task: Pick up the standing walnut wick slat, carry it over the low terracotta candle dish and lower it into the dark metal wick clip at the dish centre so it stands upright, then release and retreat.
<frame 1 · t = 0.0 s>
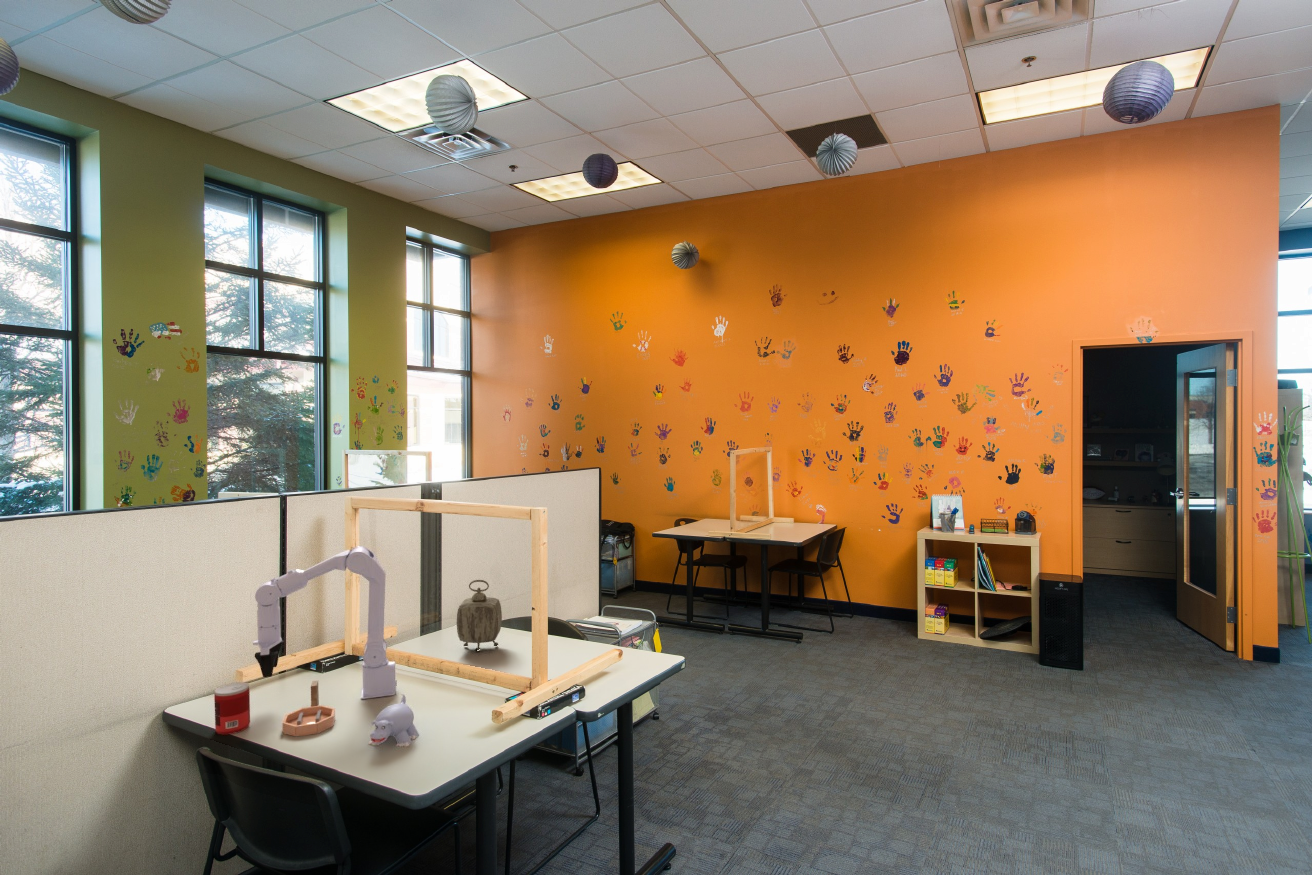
hand: (270, 671, 198), 10 cm above the table, fingers open, 7 cm apart
dish: (309, 724, 187), on the table
wick: (315, 707, 198), on the table
canned food: (233, 729, 185), on the table
tabletop clock: (479, 650, 245), on the table
hippopotamus toy: (391, 743, 177), on the table
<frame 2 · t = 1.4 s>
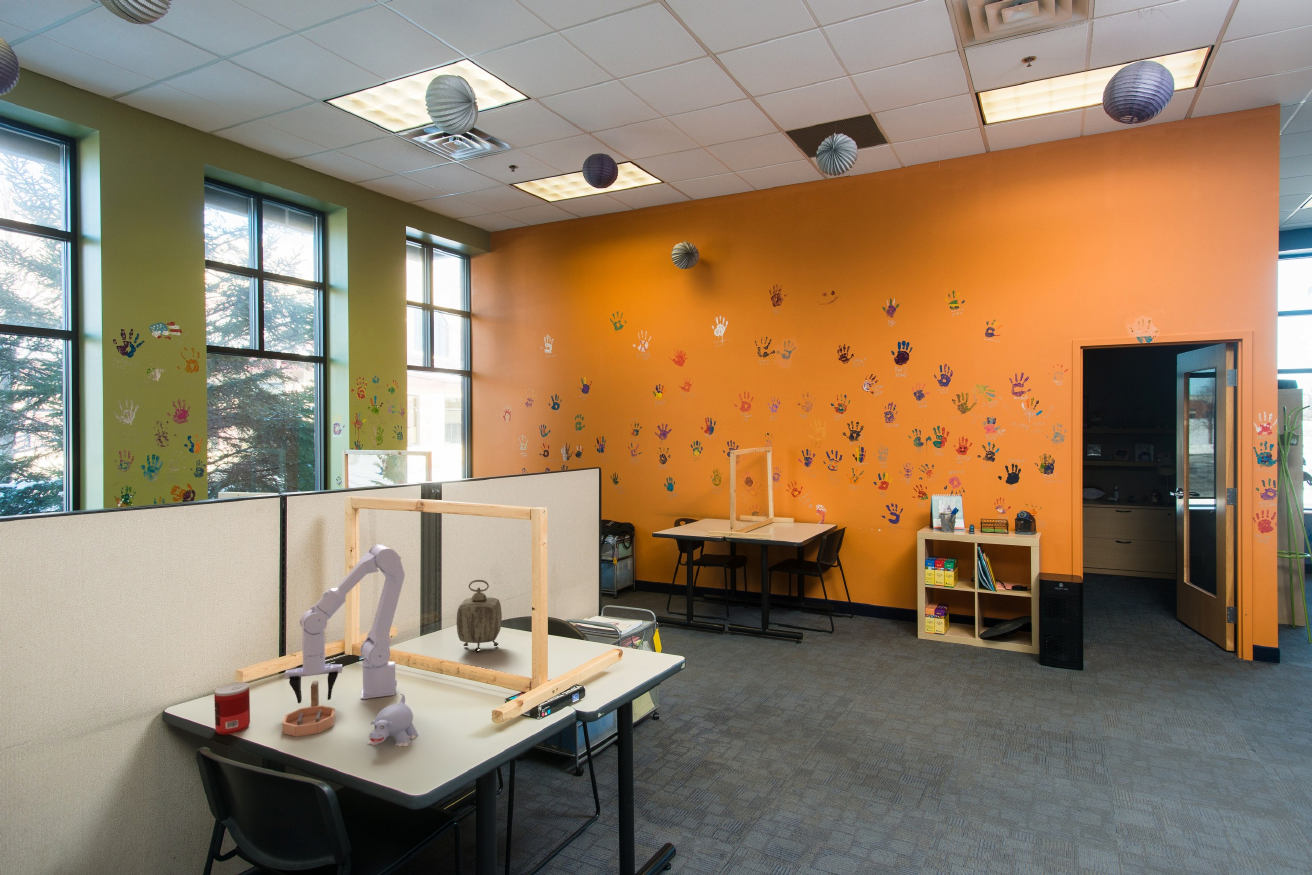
hand: (314, 699, 198), 2 cm above the table, fingers open, 7 cm apart
nothing on the table moved.
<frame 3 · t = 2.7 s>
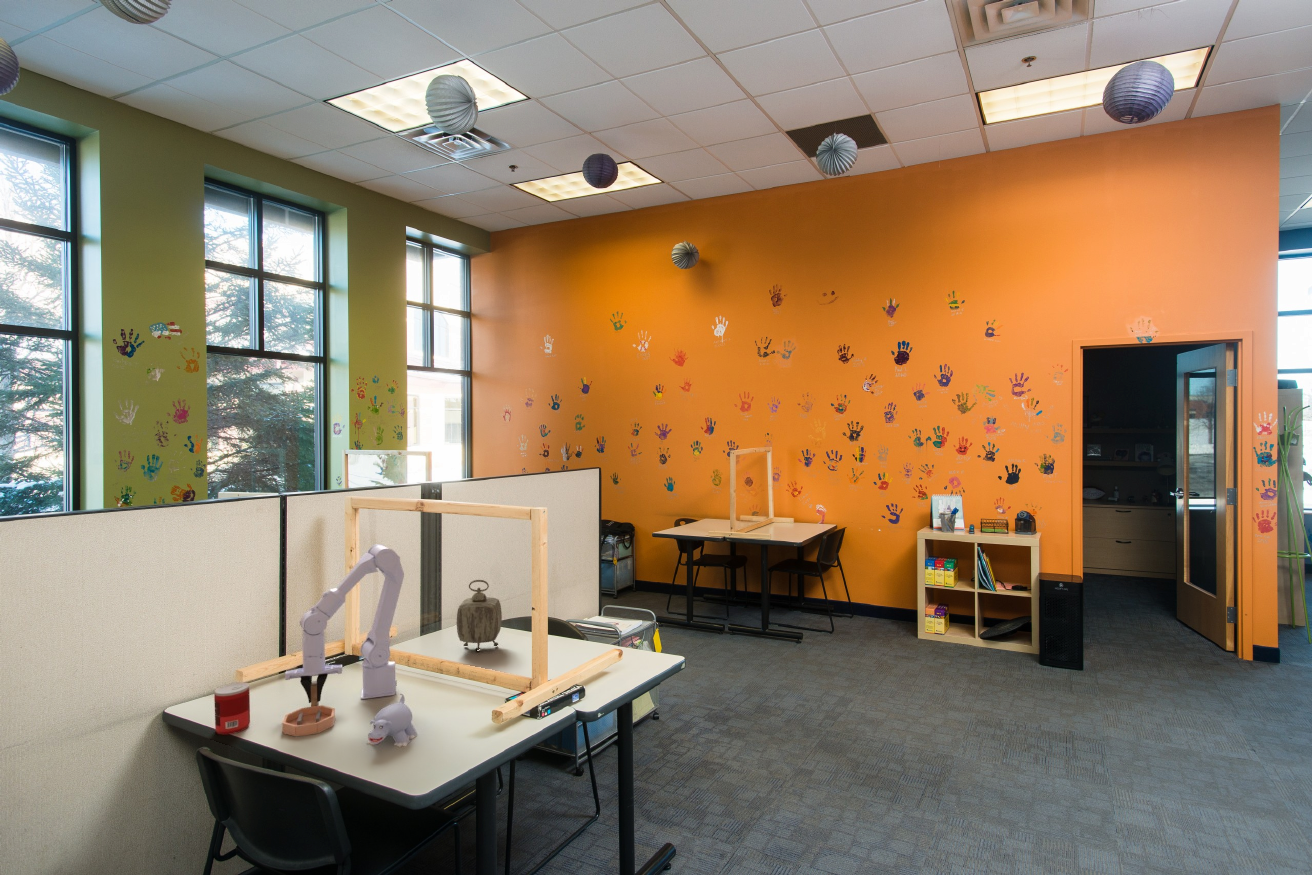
hand: (314, 700, 198), 2 cm above the table, fingers closed on wick, 1 cm apart
wick: (314, 707, 198), on the table, touching gripper
everything else where it was.
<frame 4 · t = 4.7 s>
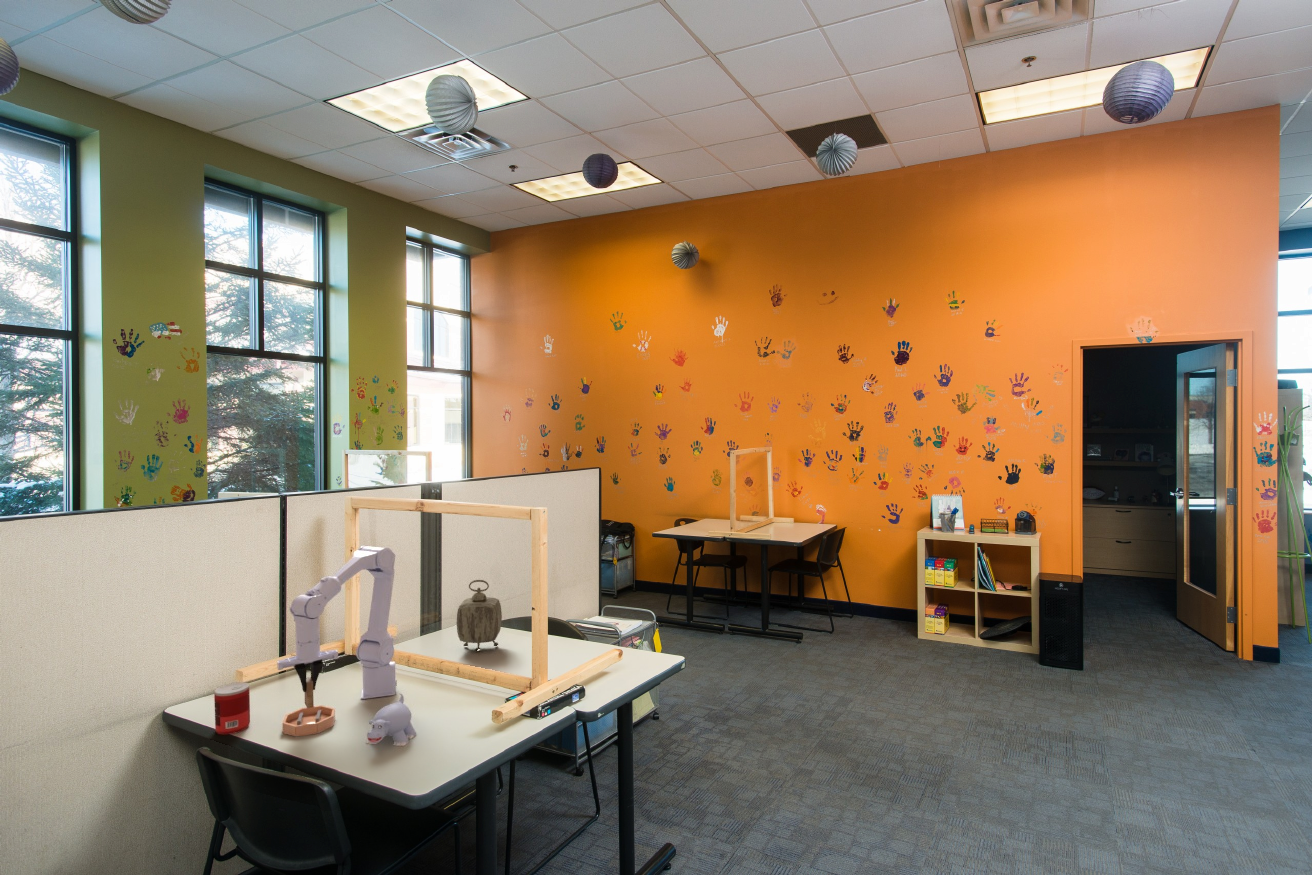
hand: (308, 689, 186), 10 cm above the table, fingers closed on wick
wick: (309, 705, 186), point 5 cm above the table, touching gripper
everything else where it was.
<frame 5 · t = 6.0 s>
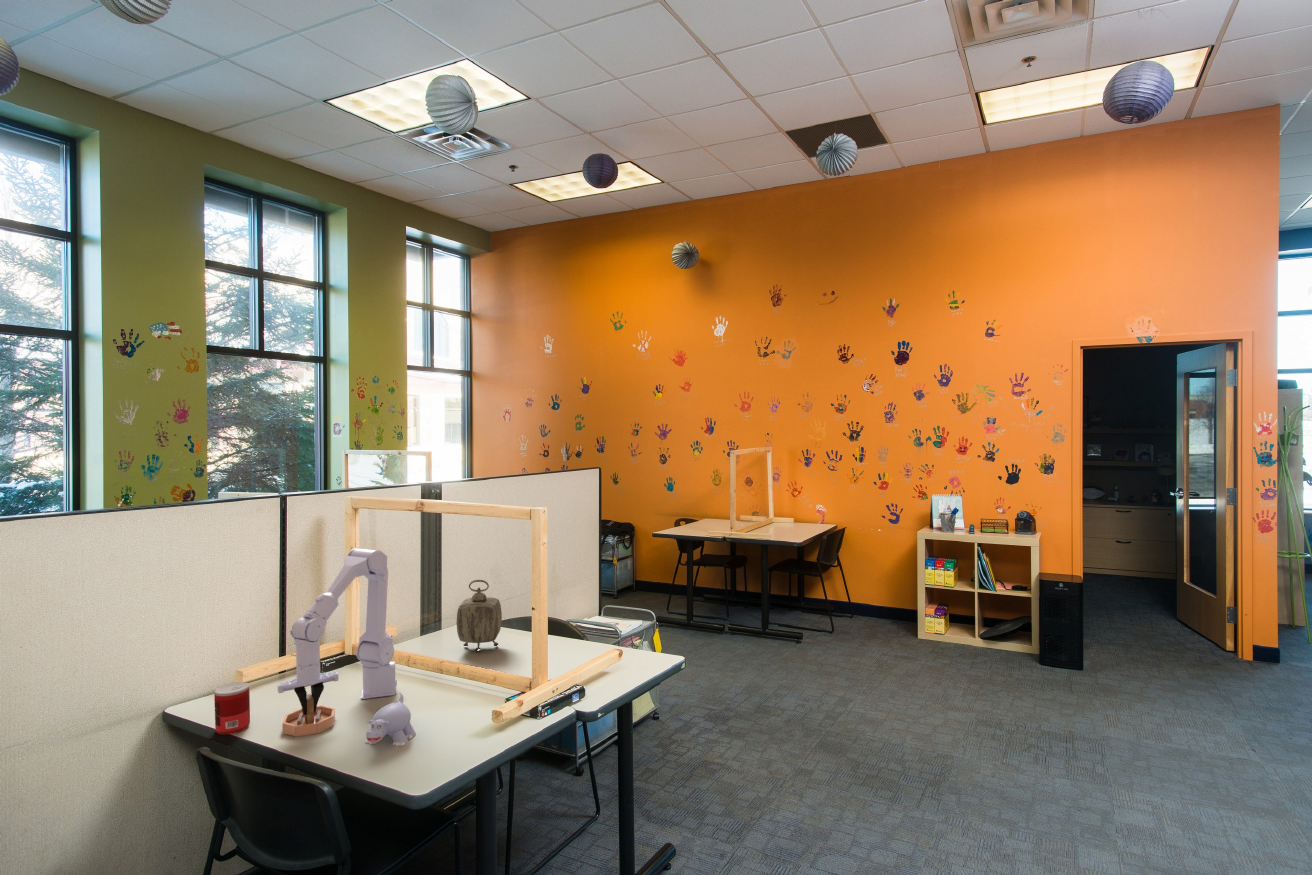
hand: (309, 712, 186), 3 cm above the table, fingers closed on wick, 1 cm apart
wick: (309, 722, 186), point 1 cm above the table, touching dish, gripper
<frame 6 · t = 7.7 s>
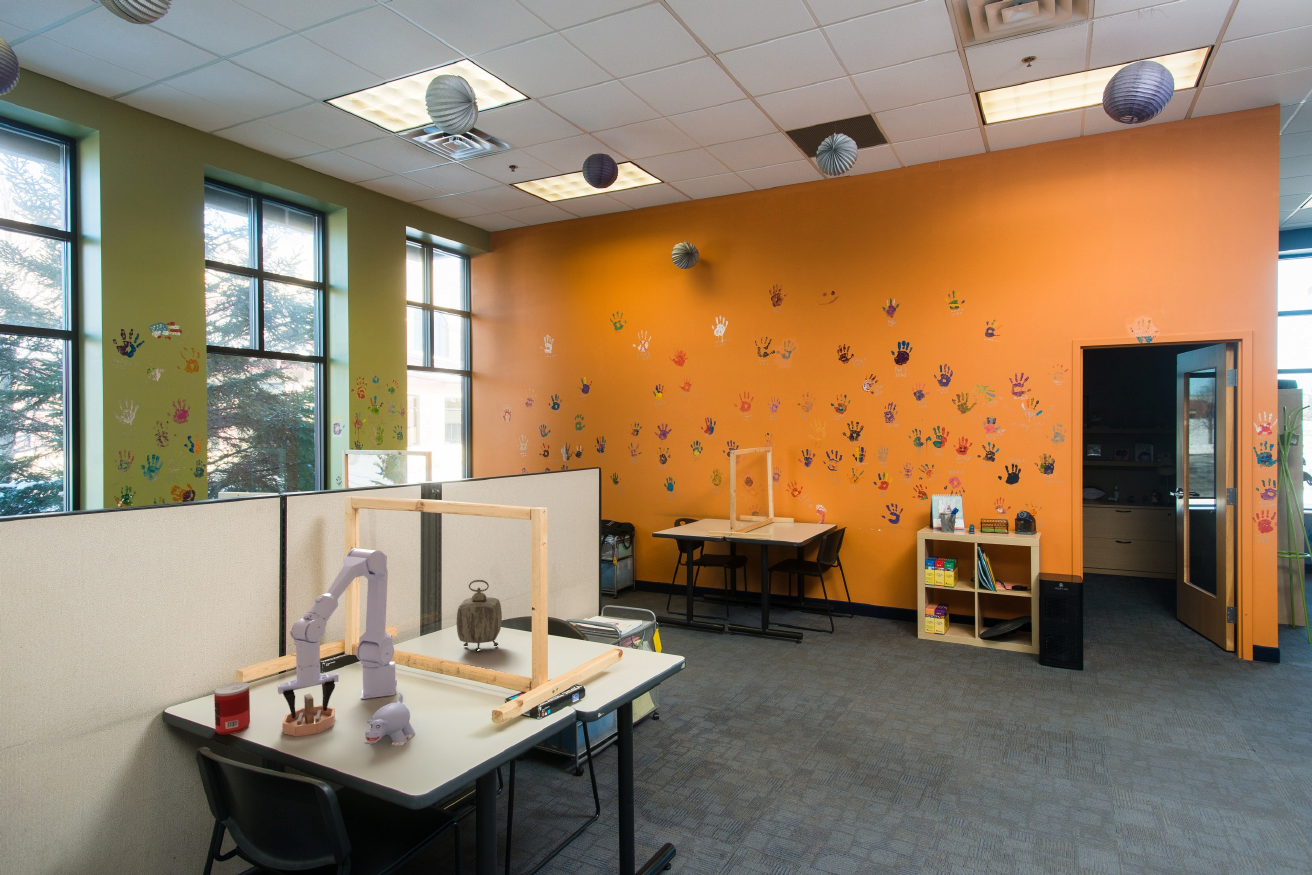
hand: (309, 713, 186), 3 cm above the table, fingers open, 7 cm apart
wick: (309, 722, 186), point 1 cm above the table, touching dish
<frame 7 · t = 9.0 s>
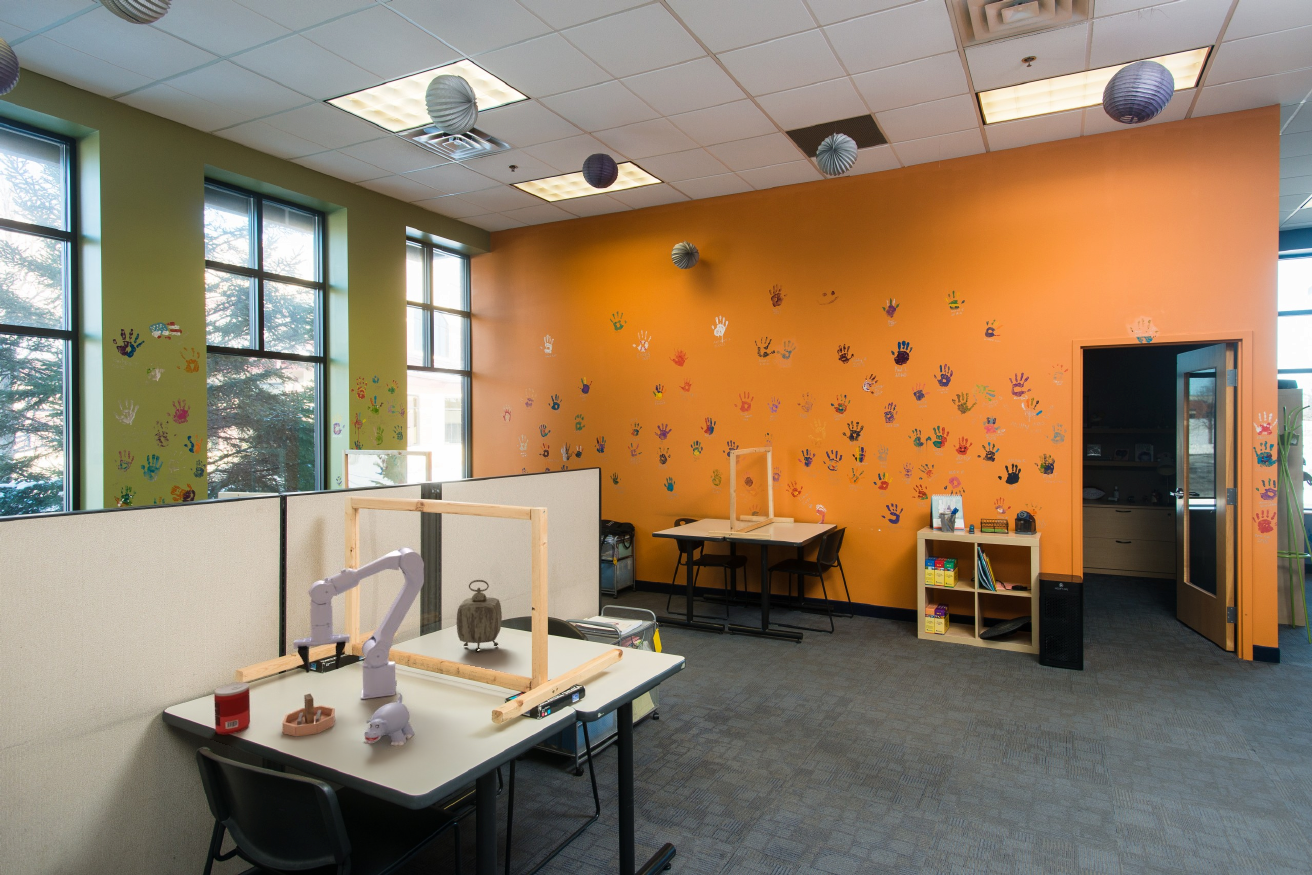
hand: (322, 669, 200), 10 cm above the table, fingers open, 7 cm apart
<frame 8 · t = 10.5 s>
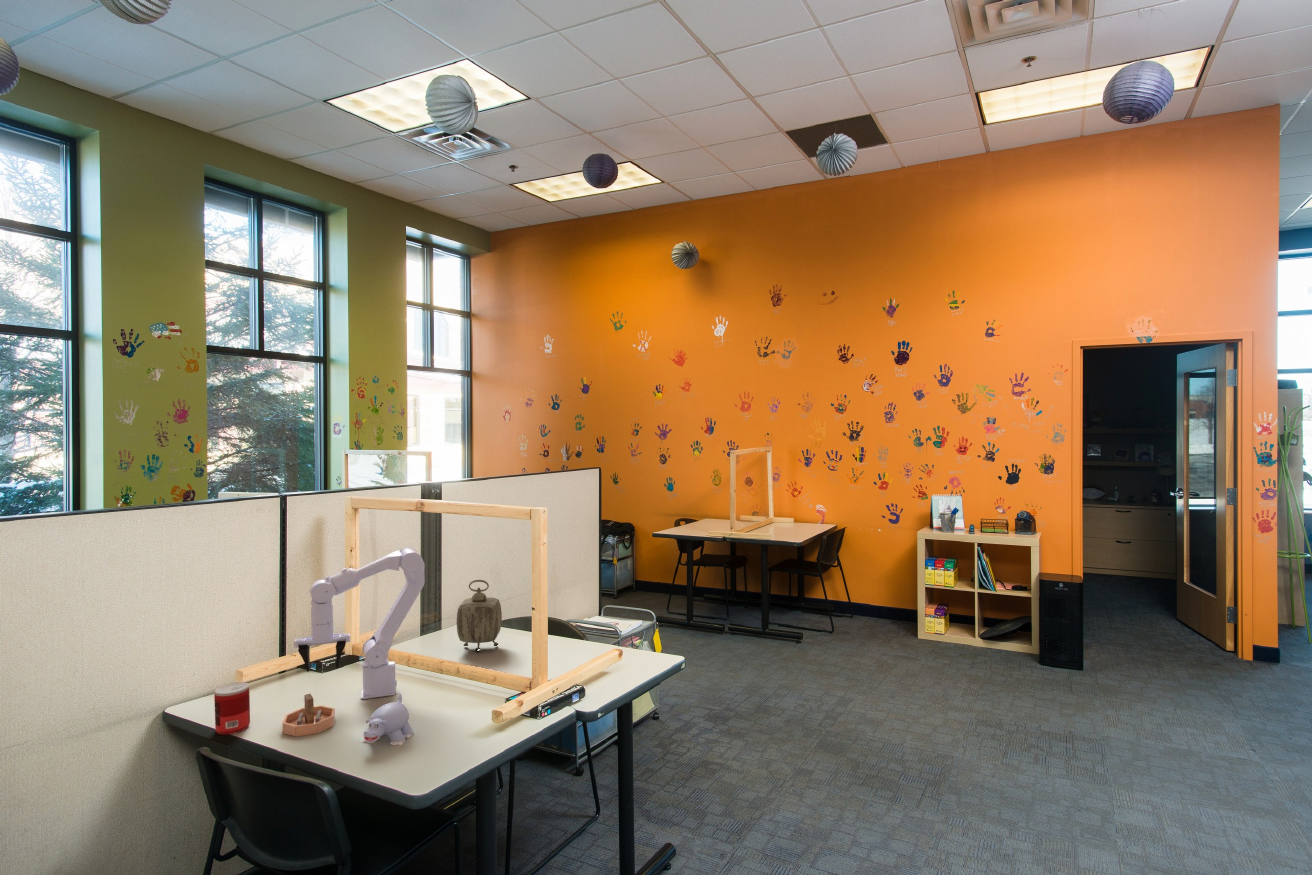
hand: (323, 668, 201), 10 cm above the table, fingers open, 7 cm apart
at the end: wick 0.0 cm off-centre on the dish, point 0.8 cm above the dish's base; wick tilted 0°; the gripper is holding nothing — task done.
